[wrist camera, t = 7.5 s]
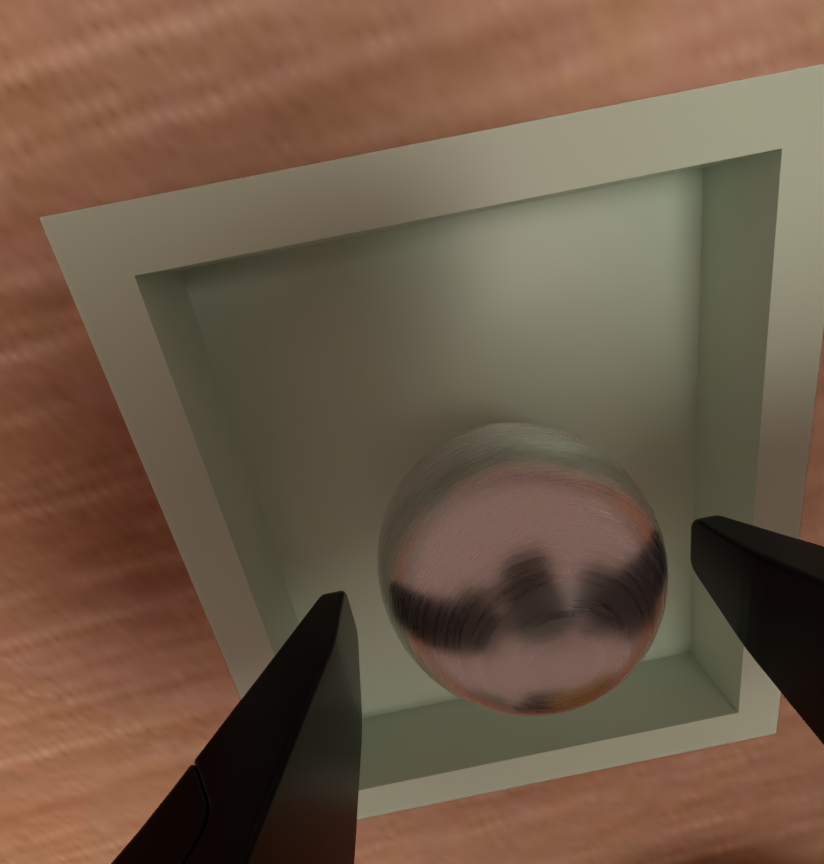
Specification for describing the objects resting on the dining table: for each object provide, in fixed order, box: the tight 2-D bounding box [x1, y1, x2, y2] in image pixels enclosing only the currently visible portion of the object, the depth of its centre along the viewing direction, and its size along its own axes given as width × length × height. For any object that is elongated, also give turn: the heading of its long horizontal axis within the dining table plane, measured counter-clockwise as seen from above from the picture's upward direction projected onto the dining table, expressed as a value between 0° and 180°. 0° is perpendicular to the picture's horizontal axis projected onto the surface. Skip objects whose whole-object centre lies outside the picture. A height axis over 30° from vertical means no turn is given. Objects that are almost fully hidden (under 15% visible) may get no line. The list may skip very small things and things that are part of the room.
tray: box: [39, 64, 824, 819], centre depth 11 cm, size 14×12×2 cm
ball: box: [377, 422, 669, 717], centre depth 9 cm, size 5×5×5 cm
